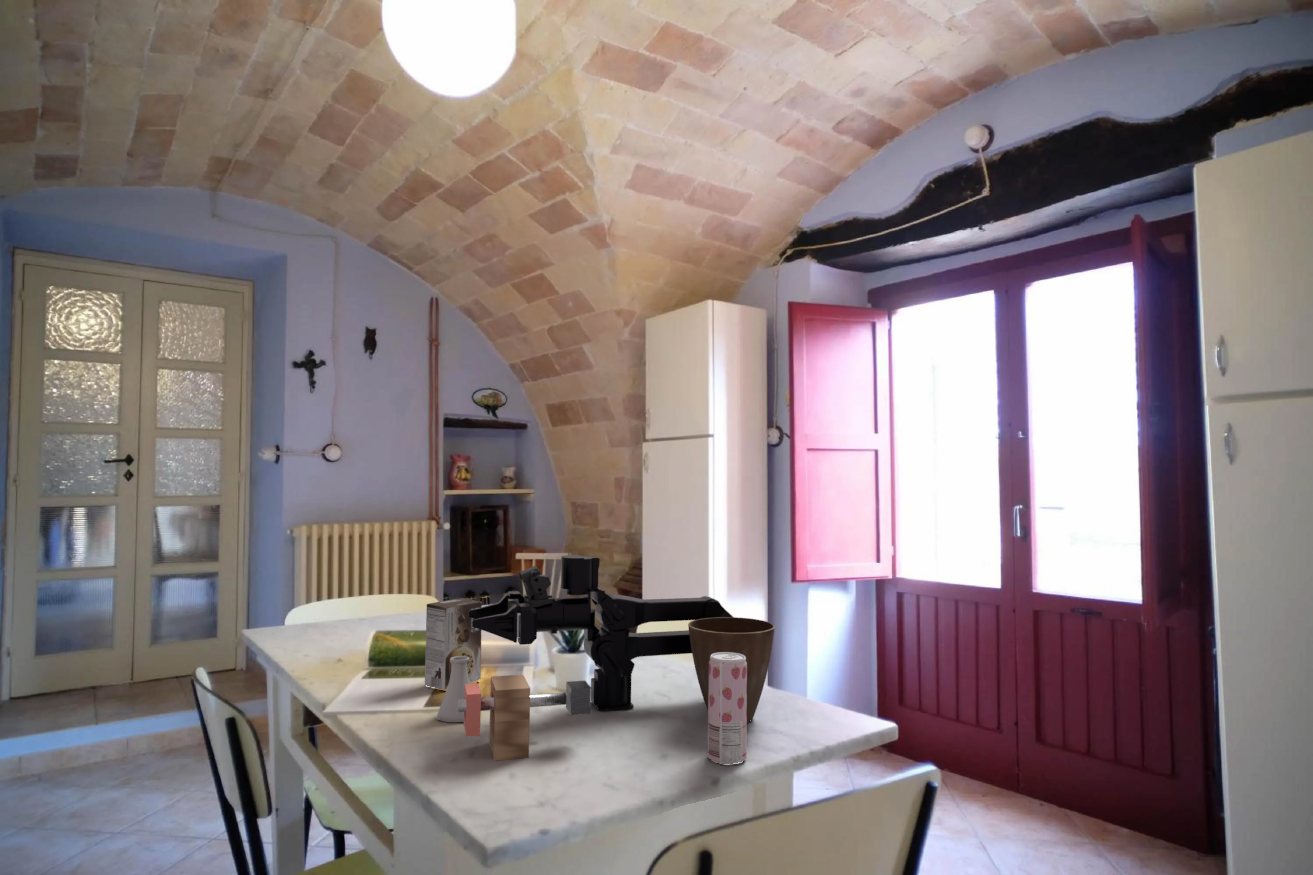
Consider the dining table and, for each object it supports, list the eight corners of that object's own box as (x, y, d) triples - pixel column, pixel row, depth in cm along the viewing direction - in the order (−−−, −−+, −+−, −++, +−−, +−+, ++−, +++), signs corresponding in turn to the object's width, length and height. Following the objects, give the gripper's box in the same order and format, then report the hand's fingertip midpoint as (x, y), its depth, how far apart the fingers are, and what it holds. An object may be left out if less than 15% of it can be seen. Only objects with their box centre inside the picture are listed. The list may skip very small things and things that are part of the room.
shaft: (584, 706, 123) (585, 680, 123) (590, 713, 119) (590, 687, 119) (457, 715, 117) (458, 688, 117) (458, 723, 113) (459, 695, 113)
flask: (468, 725, 128) (470, 664, 129) (428, 722, 130) (429, 661, 130) (486, 712, 135) (488, 654, 136) (448, 709, 137) (449, 651, 137)
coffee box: (460, 677, 158) (462, 597, 159) (481, 682, 154) (483, 600, 155) (422, 686, 151) (425, 602, 151) (444, 692, 147) (446, 606, 148)
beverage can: (748, 753, 117) (749, 652, 117) (743, 767, 111) (744, 661, 112) (710, 750, 118) (712, 650, 119) (704, 763, 112) (705, 658, 113)
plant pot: (675, 725, 130) (676, 628, 131) (701, 701, 144) (702, 613, 144) (763, 736, 125) (764, 635, 125) (781, 710, 139) (782, 620, 139)
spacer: (477, 722, 119) (478, 682, 119) (480, 735, 113) (481, 693, 113) (463, 723, 118) (464, 683, 119) (465, 736, 113) (467, 694, 113)
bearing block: (521, 739, 122) (523, 674, 122) (528, 757, 114) (530, 688, 115) (489, 741, 120) (490, 676, 121) (494, 760, 113) (495, 690, 113)
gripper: (552, 562, 148) (467, 565, 143) (571, 574, 130) (475, 577, 125) (551, 622, 147) (466, 626, 142) (570, 642, 129) (474, 647, 125)
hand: (470, 618), depth 134 cm, fingers open, 9 cm apart
